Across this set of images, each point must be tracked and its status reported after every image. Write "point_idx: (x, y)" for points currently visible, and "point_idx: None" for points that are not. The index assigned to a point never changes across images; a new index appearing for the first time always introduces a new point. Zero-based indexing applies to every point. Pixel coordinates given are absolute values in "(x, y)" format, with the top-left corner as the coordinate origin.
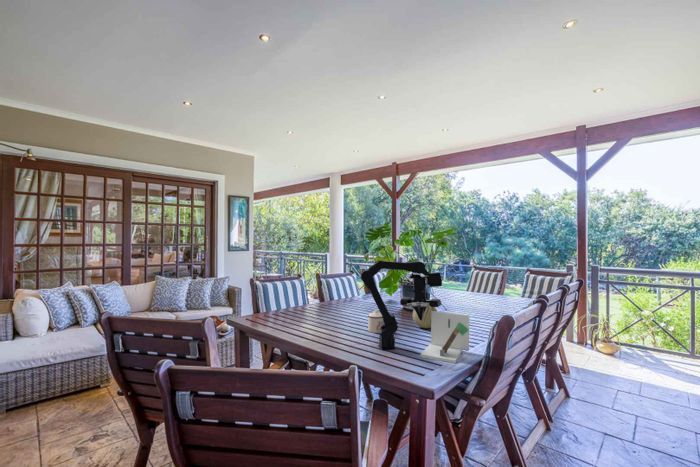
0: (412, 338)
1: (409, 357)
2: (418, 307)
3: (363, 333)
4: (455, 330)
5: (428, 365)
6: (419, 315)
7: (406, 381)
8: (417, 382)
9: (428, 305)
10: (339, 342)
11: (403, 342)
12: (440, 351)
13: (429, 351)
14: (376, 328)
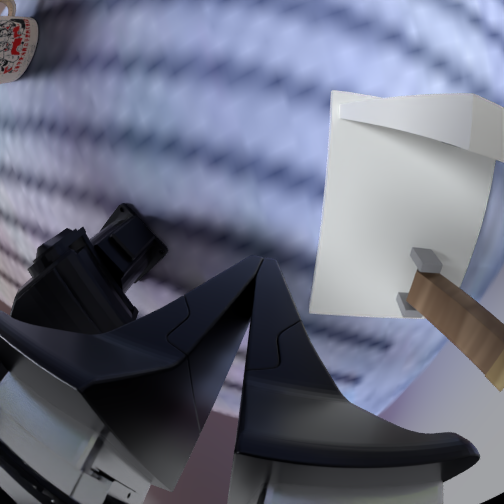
0: (181, 10)
1: None
2: (173, 453)
3: (3, 114)
4: (501, 384)
5: (345, 361)
6: (235, 353)
7: None
8: None
9: (419, 491)
10: (19, 256)
11: (158, 113)
12: (403, 313)
13: (347, 259)
14: (9, 73)
